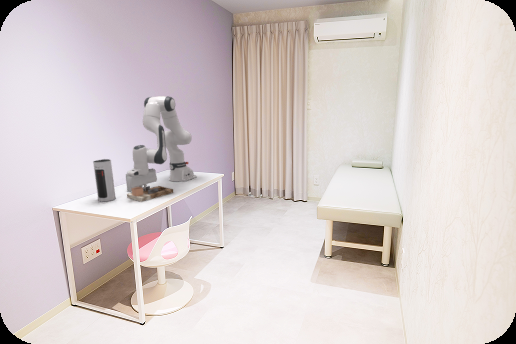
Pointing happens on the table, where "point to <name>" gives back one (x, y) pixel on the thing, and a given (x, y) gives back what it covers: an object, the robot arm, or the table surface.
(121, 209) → the table surface
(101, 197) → the speaker
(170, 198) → the table surface
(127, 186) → the supplement box
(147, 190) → the wooden tray
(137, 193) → the terracotta block
